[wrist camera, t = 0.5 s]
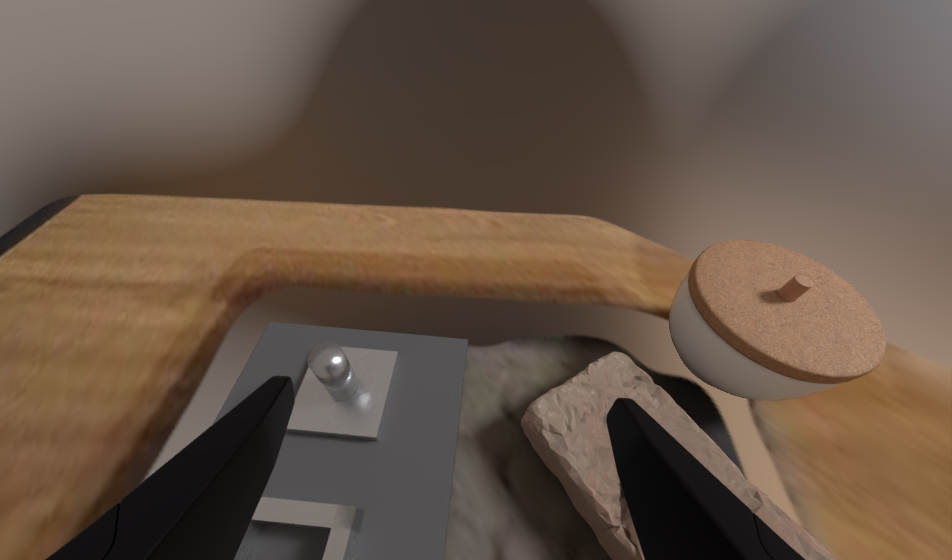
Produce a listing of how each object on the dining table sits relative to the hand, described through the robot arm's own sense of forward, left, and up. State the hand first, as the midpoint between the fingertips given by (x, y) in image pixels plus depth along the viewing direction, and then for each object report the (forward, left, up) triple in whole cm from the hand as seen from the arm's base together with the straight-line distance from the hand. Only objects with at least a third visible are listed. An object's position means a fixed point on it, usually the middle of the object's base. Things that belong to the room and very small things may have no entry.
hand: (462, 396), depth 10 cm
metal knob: (+5, +9, -15) cm, 18 cm away
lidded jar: (+11, -19, -15) cm, 27 cm away
